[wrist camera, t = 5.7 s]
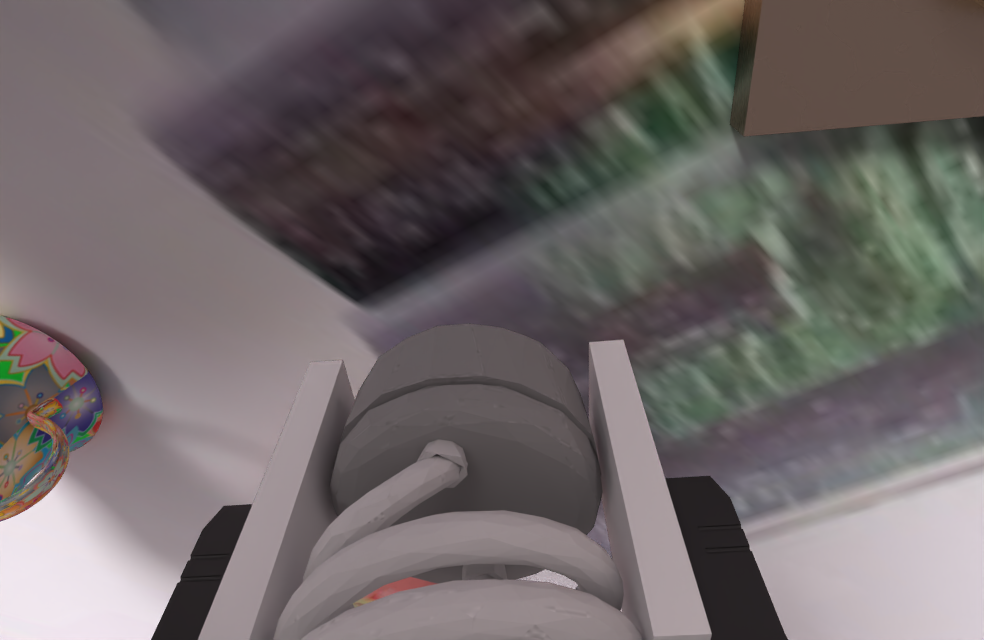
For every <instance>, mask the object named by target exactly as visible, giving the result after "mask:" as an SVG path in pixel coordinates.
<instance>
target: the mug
mask: <svg viewBox="0 0 984 640" xmlns="http://www.w3.org/2000/svg"><path fill="white" fill-rule="evenodd" d="M102 415H103V405H102V399H101V395H100V392H99V389H98V387H97V385H96V383H95V381H94V379H93V377H92V376H91V374H90V373H89V371H88V370H87V369H86V368H85V366H84V365H83V364H82V363H81V362H80V361H79V360H78V358H77V357H76V356H74V355H73V354H72V353H71V352H70V351H69V350H68V349H66V348H65V347H64V346H63V345H62V344H60V343H59V342H57V341H56V340H54V339H53V338H51V337H50V336H48V335H46V334H45V333H43V332H41V331H39V330H37V329H36V328H33V327H31V326H29V325H27V324H25V323H22V322H19V321H17V320H14V319H11V318H8V317H4V316H0V521H3V520H6V519H9V518H11V517H13V516H16V515H18V514H20V513H22V512H23V511H25V510H27V509H29V508H30V507H32V506H33V505H35V504H36V503H37V502H39V501H40V500H41V499H43V498H44V497H45V496H46V495H47V494H48V493H49V492H50V491H51V490H52V489H53V488H54V487H55V486H56V484H57V483H58V482H59V480H60V479H61V477H62V475H63V474H64V472H65V469H66V467H67V464H68V459H69V452H71V451H74V450H76V449H78V448H80V447H81V446H83V445H84V444H86V443H87V442H88V441H90V440H91V439H92V438H93V436H94V435H95V434H96V432H97V431H98V428H99V426H100V424H101V421H102ZM42 469H43V470H42ZM41 470H42V471H41ZM40 471H41V472H40ZM39 472H40V473H39ZM38 473H39V474H38ZM36 474H38V476H37V477H36V478H35V479H34V480H32V481H31V482H30V483H29V484H28V485H26V484H27V483H28V482H29V481H30V480H31V479H32V478H33V477H34V476H35V475H36ZM25 485H26V486H25Z"/></svg>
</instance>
